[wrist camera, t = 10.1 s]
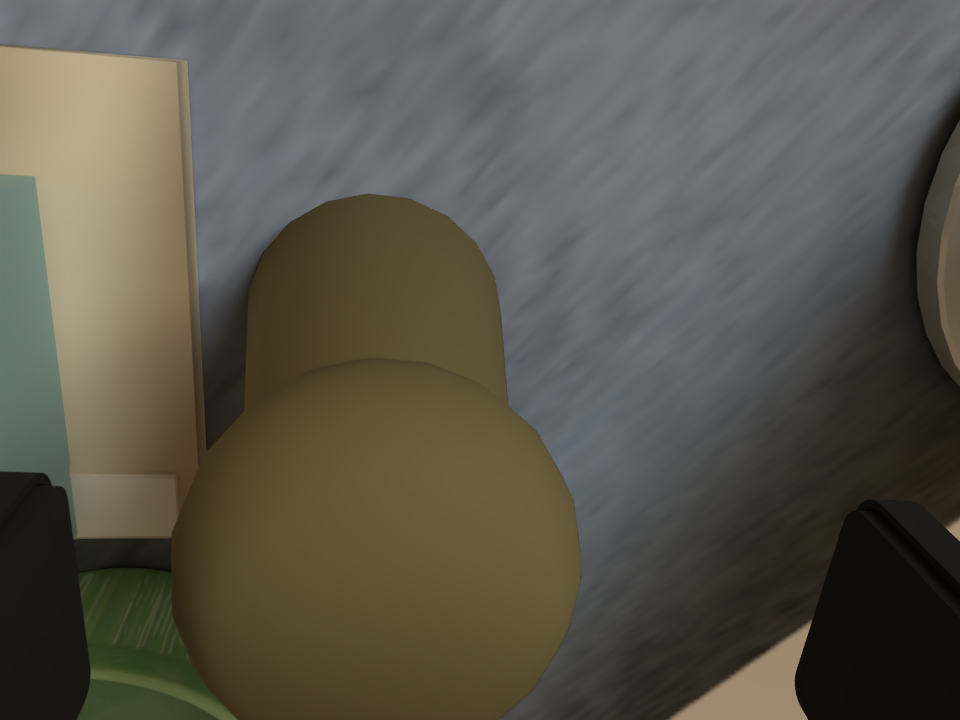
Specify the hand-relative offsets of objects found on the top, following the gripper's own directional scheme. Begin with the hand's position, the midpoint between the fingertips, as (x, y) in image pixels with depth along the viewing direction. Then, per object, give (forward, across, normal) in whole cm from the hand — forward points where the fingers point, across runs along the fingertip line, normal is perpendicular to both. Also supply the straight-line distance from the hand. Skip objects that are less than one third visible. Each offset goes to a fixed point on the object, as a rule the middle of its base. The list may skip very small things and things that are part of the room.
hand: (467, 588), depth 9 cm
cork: (+10, +2, 0) cm, 10 cm away
